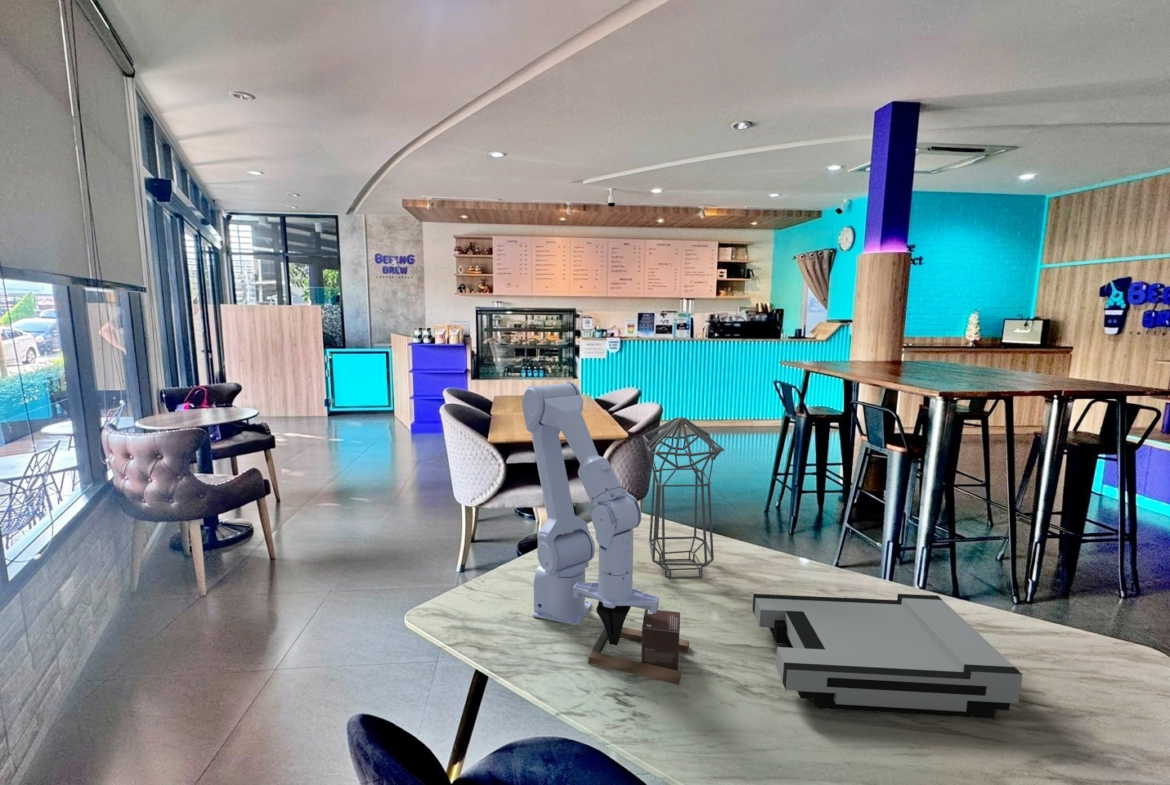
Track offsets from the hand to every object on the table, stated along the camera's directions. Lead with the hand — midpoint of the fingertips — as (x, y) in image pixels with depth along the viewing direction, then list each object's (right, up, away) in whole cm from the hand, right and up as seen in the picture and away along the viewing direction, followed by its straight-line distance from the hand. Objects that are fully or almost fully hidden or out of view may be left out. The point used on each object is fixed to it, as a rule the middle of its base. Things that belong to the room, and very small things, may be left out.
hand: (614, 641), depth 92 cm
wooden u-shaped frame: (+4, -2, -1) cm, 5 cm away
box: (+8, -2, -2) cm, 8 cm away
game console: (+41, -3, -4) cm, 41 cm away
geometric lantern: (+15, +3, +28) cm, 32 cm away
